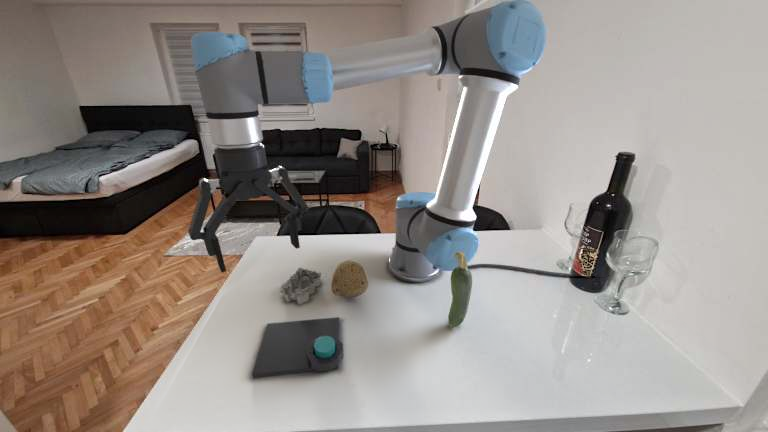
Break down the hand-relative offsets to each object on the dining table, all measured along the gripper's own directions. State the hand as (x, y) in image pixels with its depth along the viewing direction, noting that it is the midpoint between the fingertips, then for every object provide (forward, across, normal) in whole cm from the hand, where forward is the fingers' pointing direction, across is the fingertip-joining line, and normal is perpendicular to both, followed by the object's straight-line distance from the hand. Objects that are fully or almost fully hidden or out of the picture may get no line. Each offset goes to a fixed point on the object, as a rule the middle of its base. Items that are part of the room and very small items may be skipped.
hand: (261, 256), depth 58 cm
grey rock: (+21, -11, -12) cm, 26 cm away
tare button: (+18, -6, +12) cm, 22 cm away
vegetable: (+21, -33, +22) cm, 45 cm away
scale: (+20, -3, +6) cm, 21 cm away
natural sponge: (+21, -20, -2) cm, 29 cm away
